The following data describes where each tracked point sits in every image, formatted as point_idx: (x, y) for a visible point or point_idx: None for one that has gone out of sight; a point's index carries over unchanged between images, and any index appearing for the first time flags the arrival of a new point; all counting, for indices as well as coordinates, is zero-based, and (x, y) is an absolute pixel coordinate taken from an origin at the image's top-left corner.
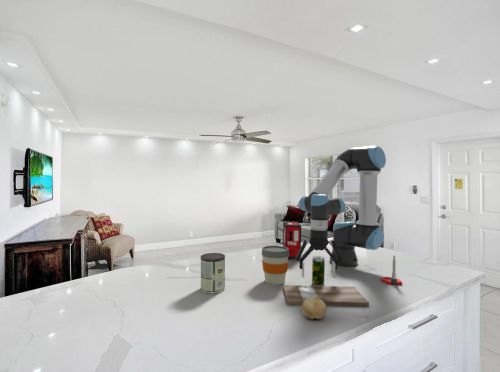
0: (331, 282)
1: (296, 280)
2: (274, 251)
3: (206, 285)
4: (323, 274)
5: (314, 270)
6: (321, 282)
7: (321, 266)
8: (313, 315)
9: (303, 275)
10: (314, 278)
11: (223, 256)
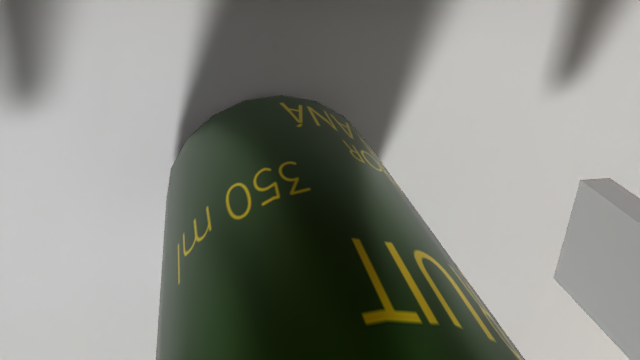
0: (22, 297)
1: (536, 290)
2: None
3: None
4: (199, 227)
5: (458, 274)
6: (239, 120)
7: (306, 347)
8: None
9: (616, 196)
10: (386, 173)
11: None
